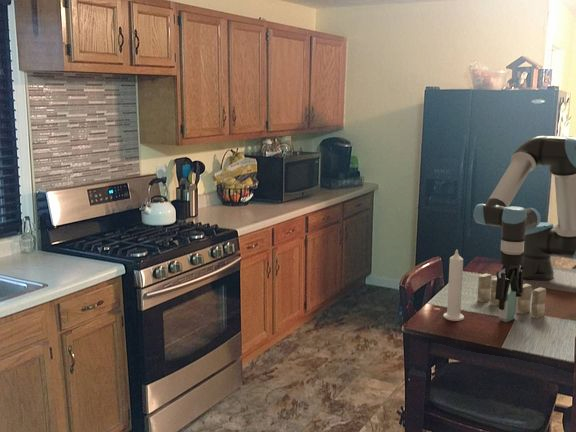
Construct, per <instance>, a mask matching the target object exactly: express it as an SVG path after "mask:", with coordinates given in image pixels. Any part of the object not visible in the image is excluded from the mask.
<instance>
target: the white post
mask: <svg viewBox="0 0 576 432" xmlns="http://www.w3.org/2000/svg"><path fill="white" fill-rule="evenodd" d="M463 268H464V258H463V257H462V256H460V254H459V250H458V249H456V250H455V251H454V255H452V256H450V257H449V268H448V269H449V270H448V291H447V311H446V312H444V313H443V319H445V320H448V321H451V322H460V321H463V320H464V318H465V316H464V315H463V314H462V313H461V311H462V308H461V307H462V293H463V292H462V291H463V290H462V287H463Z"/></svg>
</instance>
